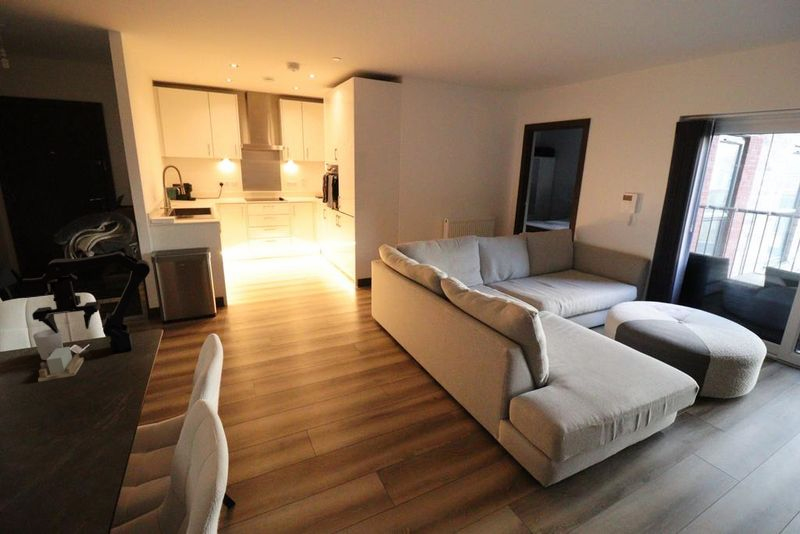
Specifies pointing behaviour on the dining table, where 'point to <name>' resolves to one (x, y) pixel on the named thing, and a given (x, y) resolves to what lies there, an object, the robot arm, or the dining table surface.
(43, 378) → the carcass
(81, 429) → the dining table surface
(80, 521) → the dining table surface
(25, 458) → the dining table surface
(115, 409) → the dining table surface
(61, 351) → the light grey block
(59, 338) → the white cup
